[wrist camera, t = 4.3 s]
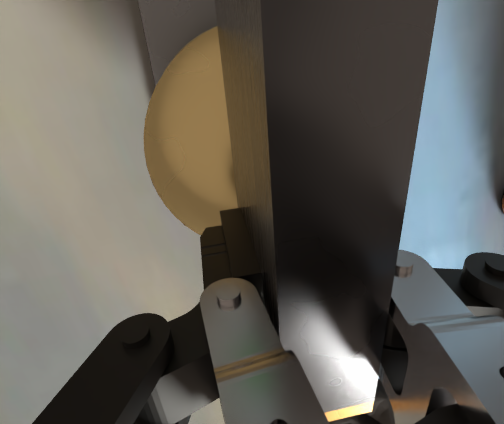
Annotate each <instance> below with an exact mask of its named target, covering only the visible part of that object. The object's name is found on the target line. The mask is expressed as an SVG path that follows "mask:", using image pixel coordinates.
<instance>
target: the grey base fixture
mask: <svg viewBox="0 0 504 424" xmlns="http://www.w3.org/2000/svg"><path fill="white" fill-rule="evenodd" d="M138 4H139V9H140V14H141V19H142V23H143V28H144V33H145V38H146V43H147V48H148V52H149V57H150V62H151V67H152V72H153V77H154V81H155V86H156V85H157V83H158V82H159V80H160V78H161V76H162V75H163V73H164V71H165V70H166V68H167V67H168V65H169V64H170V62H171V61H172V60H173V58H174V57H175V56H176V55H177V53H178V52H179V51H180V50H181V49H182V48H183V47H184V46H185V45H186V44H187V43H189V42H190V41H191V40H193V39H194V38H195V37H197V36H198V35H200V34H201V33H203V32H205V31H207V30H209V29H211V28H213V27H216V26H217V19H216V10H215V1H214V0H138Z"/></svg>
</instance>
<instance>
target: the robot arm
mask: <svg viewBox="0 0 504 424" xmlns="http://www.w3.org/2000/svg"><path fill="white" fill-rule="evenodd" d="M220 218H221V225H220V226H214V227H207V228H206V229H205V230H204V232H203V233H202V235H201V237H200V242H201V255H202V269H203V283H204V291H203V293H202V294H201V297H200V302H199V303H198V304H197V305H196V306H195V307H194V308H193V309H192V310H191V311H189V312H188V313H186V314H184V315H182V316H180V317H178V318H176V319H174V320H171V321H169V322H167V321H166V319H164V318H163V317H162V316H160V315H157V314H152V313H144V314H138V315H135V316H132V317H129V318H127V319H125V320H123V321H122V322H120V323H119V324H117V325H116V326H115V327H114V328H113V329H112V330H111V331H110V332H109V333H108V334H107V335H106V337H105V338H104V339H103V340H102V341H101V343H100V344H99V345H98V346H97V347H96V349H95V350H94V351H93V352H92V353H91V354H90V356H89V357H88V358H87V359H86V360H85V362H84V363H83V364H82V365H81V366H80V367H79V369H78V370H77V371H76V372H75V373H74V375H73V376H72V377H71V378H70V379H69V381H68V382H67V383H66V384H65V385H64V386H63V388H62V389H61V390H60V391H59V392H58V394H57V395H56V396H55V397H54V398H53V399H52V401H51V402H50V403H49V404H48V405H47V407H46V408H45V409H44V410H43V411H42V413H41V414H40V415H39V416H38V417H37V418H36V420H35V421H34V422H33V423H32V424H188V422H189V419H190V416H191V414H192V413H194V412H196V411H197V410H199V409H201V408H202V407H204V406H206V405H208V404H209V403H211V402H213V401H214V400H216V399H218V398H220V403H221V408H222V412H223V417H224V422H225V424H329V421H328V419H327V417H326V415H325V413H324V411H323V409H322V407H321V405H320V403H319V401H318V399H317V397H316V395H315V393H314V391H313V389H312V387H311V385H310V383H309V380H308V378H307V376H306V374H305V372H304V370H303V368H302V366H301V364H300V362H299V360H298V358H297V357H296V355H295V353H294V352H293V351H292V350H287V351H285V349H284V348H283V346H282V344H281V342H280V339H279V337H278V335H277V333H276V331H275V328H274V326H273V324H272V322H271V320H270V317H269V315H268V313H267V311H266V309H265V306H264V294H263V282H262V272H261V269H260V266H259V263H258V259H257V256H256V253H255V250H254V247H253V244H252V241H251V238H250V235H249V232H248V228H247V225H246V222H245V219H244V216H243V213H242V210H241V208H234V209H228V210H221V211H220ZM379 378H380V380H381V382H382V384H383V387H384V389H385V391H386V394H387V396H388V398H389V400H390V403H391V405H392V409H393V412H394V418H395V424H504V255H500V254H495V253H487V252H481V253H475V254H471V255H469V256H468V257H467V258H466V259H465V262H464V266H463V269H440V268H432V267H431V266H430V265H429V263H428V262H427V261H426V260H424V259H423V258H422V257H420V256H418V255H416V254H414V253H411V252H408V251H404V250H398V256H397V262H396V268H395V275H394V281H393V287H392V294H391V300H390V306H389V312H388V319H387V325H386V331H385V337H384V344H383V350H382V356H381V362H380V369H379Z"/></svg>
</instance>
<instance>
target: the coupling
mask: <svg viewBox="0 0 504 424" xmlns="http://www.w3.org/2000/svg"><path fill="white" fill-rule="evenodd" d="M214 1H215V10H216V19H217V26H216V27H213V28H211V29H209V30H207V31H205V32H203V33H201V34H200V35H198V36H197V37H195V38H194V39H193V40H191V41H190V42H189V43H187V44H186V45H185V46H184V47H183V48H182V49H181V50H180V51H179V52H178V53H177V55H176V56H175V57H174V58H173V60H172V61H171V62H170V64H169V65H168V67H167V68H166V70H165V71H164V73H163V75H162V76H161V78H160V80H159V82H158V83H157V85H156V87H155V90H154V92H153V95H152V97H151V100H150V102H149V106H148V110H147V114H146V118H145V127H144V152H145V158H146V164H147V168H148V171H149V174H150V177H151V180H152V183H153V185H154V187H155V189H156V191H157V193H158V195H159V196H160V198H161V199H162V201H163V202H164V204H165V205H166V207H167V208H168V209H169V210H170V211H171V212H172V214H173V215H174V216H175V217H176V218H177V219H179V220H180V221H181V222H182V223H183V224H184V225H185V226H187V227H188V228H190V229H191V230H193V231H194V232H196V233H198V234H199V235H202V233H203V232H204V230H205V229H206V228H207V227H214V226H220V225H221V218H220V211H221V210H228V209H234V208H241V210H242V213H243V216H244V219H245V222H246V225H247V228H248V232H249V235H250V238H251V241H252V244H253V247H254V250H255V253H256V256H257V259H258V263H259V266H260V269H261V272H262V282H263V294H264V306H265V309H266V311H267V313H268V315H269V317H270V320H271V322H272V324H273V326H274V328H275V331H276V333H277V335H278V337H279V339H280V342H281V344H282V346H283V348H284V349H285V351H287V350H292V351H293V352H294V353H295V355H296V357H297V358H298V360H299V362H300V364H301V366H302V368H303V370H304V372H305V374H306V376H307V378H308V380H309V383H310V385H311V387H312V389H313V391H314V393H315V395H316V397H317V399H318V401H319V403H320V405H321V407H322V409H323V411H324V413H325V415H326V417H327V419H328V421H329V422H330V421H334V420H338V419H342V418H347V417H351V416H355V415H359V414H364V413H368V412H372V408H373V401H374V400H375V394H376V387H377V381H378V375H379V369H380V362H381V356H382V350H383V344H384V337H385V331H386V325H387V319H388V312H389V306H390V300H391V294H392V287H393V281H394V275H395V268H396V262H397V256H398V250H399V243H400V237H401V231H402V225H403V218H404V212H405V206H406V200H407V193H408V187H409V181H410V175H411V168H412V162H413V156H414V149H415V143H416V137H417V131H418V124H419V118H420V112H421V106H422V99H423V93H424V87H425V81H426V74H427V68H428V62H429V56H430V49H431V43H432V37H433V30H434V24H435V18H436V12H437V5H438V0H214Z"/></svg>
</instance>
